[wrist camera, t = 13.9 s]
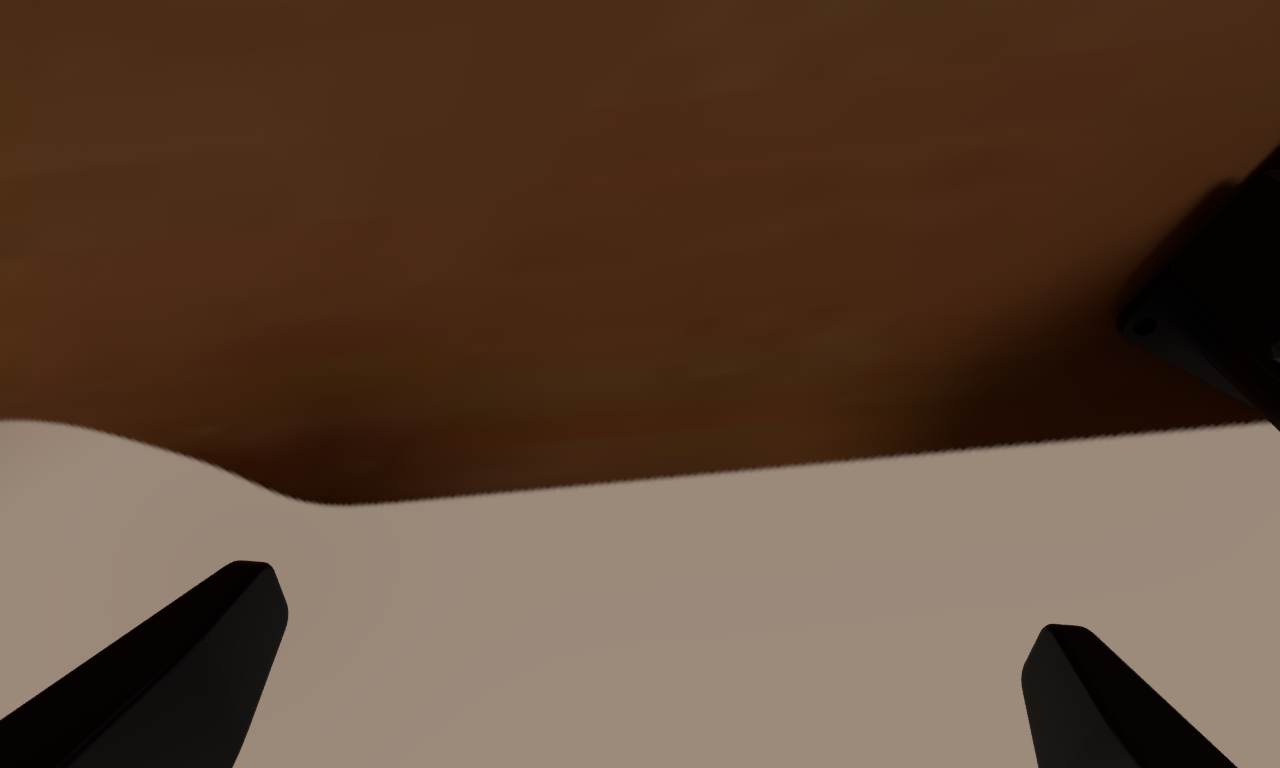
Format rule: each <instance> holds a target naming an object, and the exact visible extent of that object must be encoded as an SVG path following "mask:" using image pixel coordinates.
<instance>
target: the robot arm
mask: <svg viewBox="0 0 1280 768" xmlns="http://www.w3.org/2000/svg"><path fill="white" fill-rule="evenodd" d="M1145 318H1149V319H1148V321H1147V322H1146V324H1144V325H1142V326H1141V327H1137V328H1134V327H1135V325H1136V324H1137V322H1139V321H1140V320H1142V319H1145ZM1116 326H1117V329H1118V331H1119V332H1120V333H1121V334H1122V335H1123V336H1124V338H1126V339H1127V340H1128V341H1129V342H1130V343H1132V344H1134V345H1136V346H1138V347H1140V348H1141V349H1143V350H1145V351H1147V352H1149V353H1151V354H1153V355H1155V356H1156V357H1158V358H1160V359H1162V360H1164V361H1166V362H1168V363H1170V364H1171V365H1173V366H1175V367H1177V368H1179V369H1181V370H1183V371H1184V372H1186V373H1188V374H1190V375H1192V376H1194V377H1196V378H1198V379H1199V380H1201V381H1203V382H1205V383H1207V384H1209V385H1211V386H1213V387H1214V388H1216V389H1218V390H1220V391H1222V392H1224V393H1226V394H1227V395H1229V396H1231V397H1233V398H1235V399H1237V400H1239V401H1241V402H1242V403H1244V404H1246V405H1248V406H1250V407H1252V408H1254V409H1256V410H1257V411H1259V412H1260V413H1261V414H1262V415H1263V416H1264V417H1265V418H1266V419H1267V420H1268V421H1269V422H1270V423H1271V424H1272V425H1274V426H1275V427H1276V428H1277V429H1278V430H1279V431H1280V155H1279V156H1278V157H1277V158H1276V159H1275V160H1274V161H1273V162H1272V163H1271V164H1270V165H1269V166H1268V167H1267V168H1266V169H1265V170H1264V171H1263V172H1262V173H1261V174H1260V175H1258V176H1257V177H1256V178H1255V179H1254V180H1253V181H1252V182H1251V183H1250V184H1249V185H1248V186H1247V187H1246V188H1245V189H1244V190H1243V191H1242V192H1241V193H1240V194H1239V195H1238V196H1237V197H1236V198H1235V199H1234V200H1233V201H1232V202H1231V203H1230V204H1229V205H1228V206H1227V207H1226V208H1225V209H1224V210H1223V211H1222V212H1221V213H1220V214H1219V215H1218V216H1217V217H1216V218H1215V219H1214V220H1213V221H1212V222H1211V223H1210V224H1209V225H1208V226H1207V227H1206V228H1205V229H1204V230H1203V231H1202V232H1201V233H1200V234H1199V235H1198V236H1197V237H1196V238H1195V239H1194V240H1193V241H1192V242H1191V243H1190V244H1189V245H1188V246H1187V247H1186V248H1185V249H1184V250H1183V251H1182V252H1181V253H1180V254H1179V255H1178V256H1177V257H1176V258H1174V260H1173V261H1172V262H1171V263H1170V264H1169V265H1168V266H1167V267H1166V268H1165V269H1164V270H1163V271H1162V272H1161V273H1160V274H1159V275H1158V276H1157V277H1156V278H1155V279H1154V280H1153V281H1152V282H1151V283H1150V284H1149V285H1148V286H1147V287H1146V288H1145V289H1144V290H1143V291H1142V292H1141V293H1140V294H1139V295H1138V296H1137V297H1136V298H1135V299H1134V300H1133V301H1132V302H1131V303H1130V304H1129V305H1128V306H1127V307H1126V308H1125V309H1124V310H1123V311H1122V312H1121V313H1120V315H1119V316H1118V318H1117V322H1116ZM287 621H288V606H287V603H286V600H285V598H284V595H283V592H282V590H281V587H280V584H279V582H278V579H277V577H276V574H275V571H274V569H273V568H272V567H271V566H270V565H269V564H268V563H265V562H255V561H234V562H232V563H229V564H228V565H226V566H224V567H223V568H221V569H220V570H218V571H217V572H216V573H214V574H213V575H211V576H210V577H208V578H207V579H205V580H204V581H202V582H201V583H200V584H198V585H197V586H195V587H194V588H192V589H191V590H189V591H188V592H187V593H185V594H183V595H182V596H181V597H179V598H178V599H176V600H175V601H173V602H172V603H170V604H169V605H168V606H166V607H165V608H163V609H162V610H160V611H159V612H157V613H156V614H154V615H153V616H152V617H150V618H149V619H147V620H146V621H144V622H143V623H141V624H140V625H138V626H137V627H135V628H134V629H133V630H131V631H130V632H128V633H127V634H125V635H124V636H122V637H121V638H119V639H118V640H116V641H115V642H114V643H112V644H111V645H109V646H108V647H106V648H105V649H103V650H102V651H100V652H99V653H98V654H96V655H95V656H93V657H92V658H90V659H89V660H87V661H86V662H84V663H83V664H81V665H80V666H79V667H77V668H76V669H74V670H73V671H71V672H70V673H68V674H67V675H65V676H64V677H63V678H61V679H60V680H58V681H57V682H55V683H54V684H52V685H51V686H49V687H48V688H46V689H45V690H44V691H42V692H41V693H39V694H38V695H36V696H35V697H34V698H32V699H31V700H29V701H28V702H26V703H25V704H23V705H22V706H20V707H19V708H17V709H16V710H14V711H13V712H12V713H10V714H9V715H7V716H6V717H4V718H3V719H1V720H0V768H232V767H233V765H234V763H235V761H236V758H237V756H238V754H239V752H240V750H241V747H242V745H243V742H244V740H245V737H246V735H247V732H248V730H249V727H250V725H251V722H252V719H253V716H254V713H255V711H256V708H257V705H258V702H259V700H260V697H261V695H262V691H263V689H264V686H265V684H266V681H267V678H268V675H269V672H270V670H271V667H272V664H273V662H274V659H275V656H276V654H277V651H278V648H279V645H280V643H281V640H282V637H283V634H284V631H285V629H286V626H287ZM1021 682H1022V690H1023V695H1024V700H1025V705H1026V709H1027V714H1028V719H1029V724H1030V729H1031V734H1032V738H1033V744H1034V748H1035V753H1036V758H1037V763H1038V767H1039V768H1237V767H1236V766H1235V765H1234V764H1233V763H1232V762H1231V761H1230V760H1229V759H1228V758H1227V757H1226V756H1224V755H1223V754H1222V753H1221V752H1220V751H1219V750H1218V749H1217V748H1216V747H1215V746H1214V745H1212V743H1211V742H1210V741H1208V740H1207V739H1206V738H1205V737H1204V736H1203V735H1202V734H1201V733H1200V732H1199V731H1198V730H1197V729H1195V727H1193V726H1192V725H1191V724H1190V723H1189V722H1188V721H1187V720H1186V719H1185V718H1184V717H1183V716H1182V715H1181V714H1180V713H1178V712H1177V711H1176V710H1175V709H1174V708H1173V707H1172V706H1171V705H1170V704H1169V703H1168V702H1167V701H1166V700H1165V699H1163V698H1162V697H1161V696H1160V695H1159V694H1158V693H1157V692H1156V691H1155V690H1154V689H1153V688H1152V687H1151V686H1150V685H1149V684H1147V683H1146V682H1145V681H1144V680H1143V679H1142V678H1141V677H1140V676H1139V675H1138V674H1137V673H1136V672H1135V671H1133V670H1132V669H1131V668H1130V667H1129V666H1128V665H1127V664H1126V663H1125V662H1124V661H1122V659H1121V658H1120V657H1118V656H1117V655H1116V654H1115V653H1114V652H1113V651H1112V650H1111V649H1110V648H1109V647H1108V646H1107V645H1105V643H1103V642H1102V641H1101V640H1100V639H1099V638H1098V637H1097V636H1096V635H1095V634H1094V633H1092V632H1091V631H1090V630H1088V629H1086V628H1084V627H1080V626H1074V625H1060V624H1049V625H1047V626H1045V627H1044V628H1043V629H1042V630H1041V632H1040V634H1039V636H1038V638H1037V640H1036V642H1035V644H1034V646H1033V648H1032V650H1031V652H1030V654H1029V656H1028V658H1027V660H1026V662H1025V664H1024V667H1023V670H1022V677H1021Z"/></svg>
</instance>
